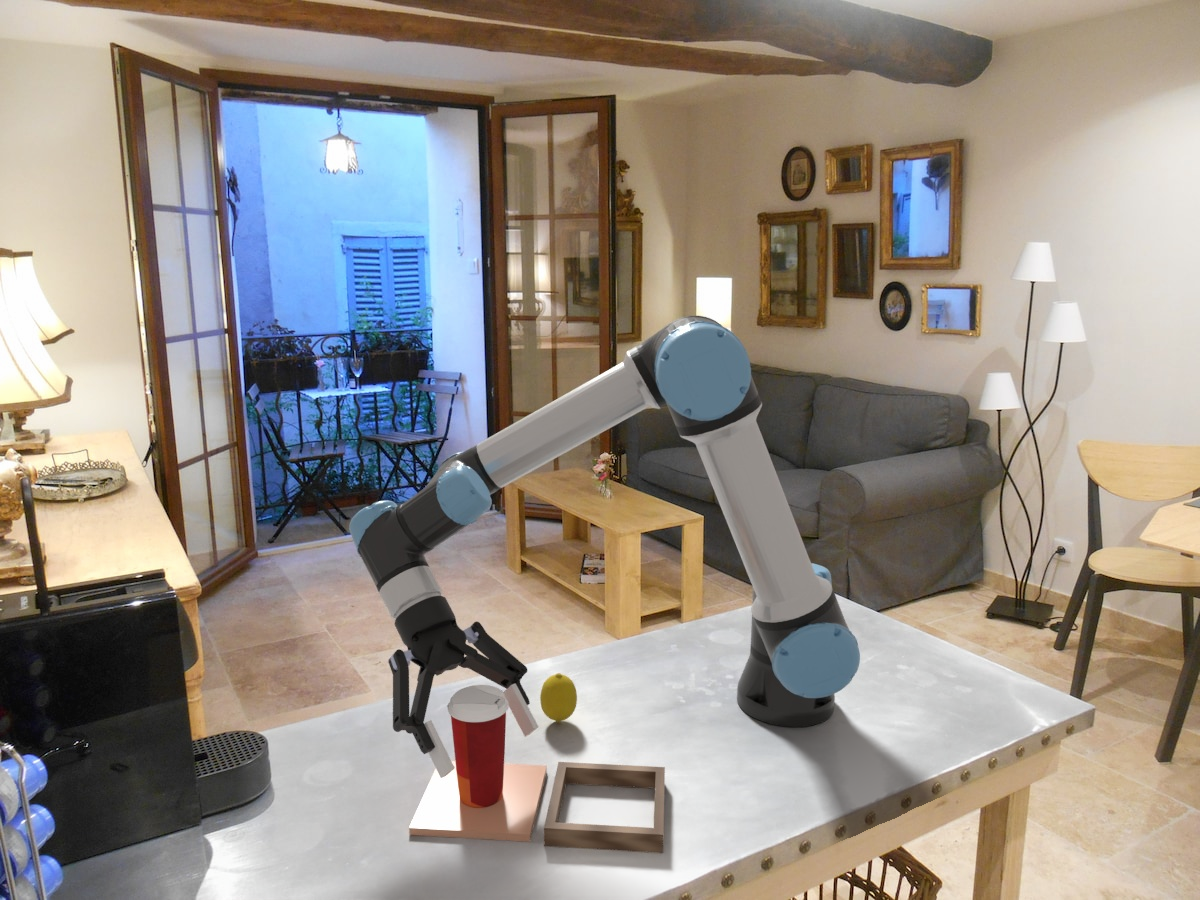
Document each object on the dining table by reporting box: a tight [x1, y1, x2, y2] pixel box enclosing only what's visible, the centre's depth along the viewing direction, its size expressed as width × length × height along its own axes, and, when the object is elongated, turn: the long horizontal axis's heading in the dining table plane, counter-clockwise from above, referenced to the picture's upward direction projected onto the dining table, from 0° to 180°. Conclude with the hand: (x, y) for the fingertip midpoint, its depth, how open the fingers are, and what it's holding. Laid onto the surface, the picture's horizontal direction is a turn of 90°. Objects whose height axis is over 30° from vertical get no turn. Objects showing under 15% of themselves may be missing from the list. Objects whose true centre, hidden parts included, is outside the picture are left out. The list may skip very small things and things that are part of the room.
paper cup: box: [446, 684, 510, 808], centre depth 119 cm, size 8×8×14 cm
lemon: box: [539, 672, 578, 723], centre depth 139 cm, size 6×6×8 cm
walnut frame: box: [543, 761, 666, 854], centre depth 118 cm, size 14×14×2 cm
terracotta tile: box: [408, 760, 548, 842], centre depth 120 cm, size 15×15×1 cm
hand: (491, 752), depth 117 cm, fingers open, 13 cm apart
